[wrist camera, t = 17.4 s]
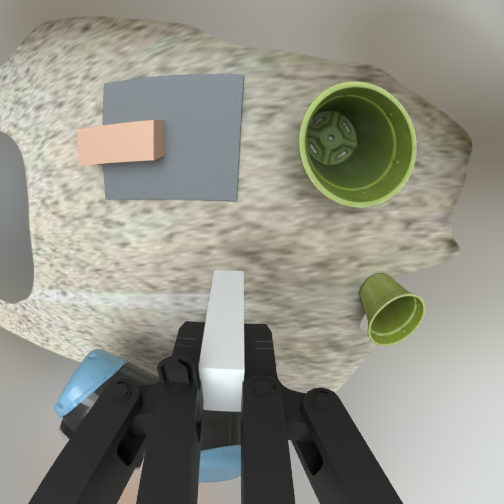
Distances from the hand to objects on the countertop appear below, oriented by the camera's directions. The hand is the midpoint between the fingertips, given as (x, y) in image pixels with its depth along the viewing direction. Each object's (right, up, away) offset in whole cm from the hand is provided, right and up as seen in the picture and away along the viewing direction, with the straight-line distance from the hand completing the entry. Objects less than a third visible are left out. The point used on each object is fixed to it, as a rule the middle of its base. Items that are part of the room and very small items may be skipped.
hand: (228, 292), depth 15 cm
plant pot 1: (+11, +17, +18) cm, 26 cm away
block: (-9, +15, +14) cm, 23 cm away
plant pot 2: (+21, -4, +28) cm, 35 cm away
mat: (-9, +16, +17) cm, 25 cm away
